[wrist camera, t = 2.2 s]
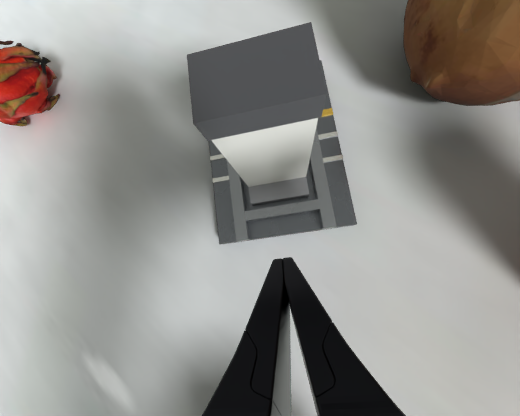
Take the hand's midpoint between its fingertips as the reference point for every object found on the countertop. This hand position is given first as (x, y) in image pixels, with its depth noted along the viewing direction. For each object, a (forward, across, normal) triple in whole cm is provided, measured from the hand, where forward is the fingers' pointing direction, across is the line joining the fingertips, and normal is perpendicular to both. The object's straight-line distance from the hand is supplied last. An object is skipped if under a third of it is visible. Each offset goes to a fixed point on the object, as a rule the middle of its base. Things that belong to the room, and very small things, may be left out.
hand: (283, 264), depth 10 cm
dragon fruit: (+23, +28, -8) cm, 37 cm away
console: (+14, 0, 0) cm, 14 cm away
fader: (+12, 0, +1) cm, 12 cm away
